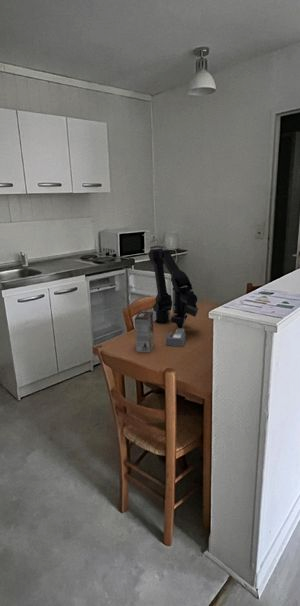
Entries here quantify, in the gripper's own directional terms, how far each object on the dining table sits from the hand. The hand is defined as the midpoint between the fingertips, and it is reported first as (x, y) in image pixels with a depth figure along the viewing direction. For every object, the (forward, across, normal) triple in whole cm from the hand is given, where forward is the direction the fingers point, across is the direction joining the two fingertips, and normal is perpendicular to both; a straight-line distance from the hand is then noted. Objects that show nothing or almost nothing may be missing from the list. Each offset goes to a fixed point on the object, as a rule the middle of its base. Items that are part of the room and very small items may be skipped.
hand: (180, 330), depth 178 cm
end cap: (+1, -12, 0) cm, 12 cm away
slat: (+2, -7, 0) cm, 7 cm away
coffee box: (+1, -21, +13) cm, 25 cm away
